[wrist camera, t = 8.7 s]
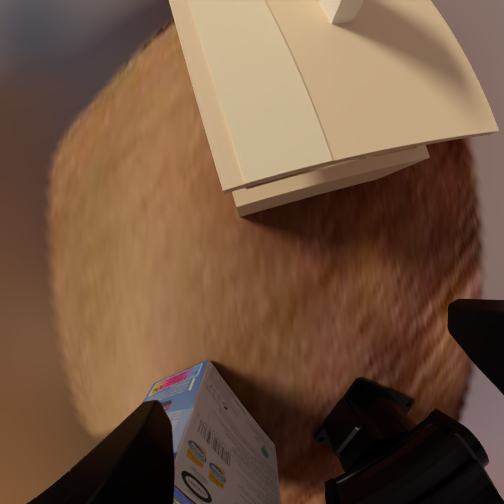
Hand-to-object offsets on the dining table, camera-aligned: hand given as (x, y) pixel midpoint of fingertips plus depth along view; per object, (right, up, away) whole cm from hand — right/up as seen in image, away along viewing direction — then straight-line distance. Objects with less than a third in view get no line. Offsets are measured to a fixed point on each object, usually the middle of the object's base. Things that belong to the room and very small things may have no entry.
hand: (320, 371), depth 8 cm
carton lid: (+1, +12, 0) cm, 12 cm away
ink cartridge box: (-5, -10, +13) cm, 17 cm away
